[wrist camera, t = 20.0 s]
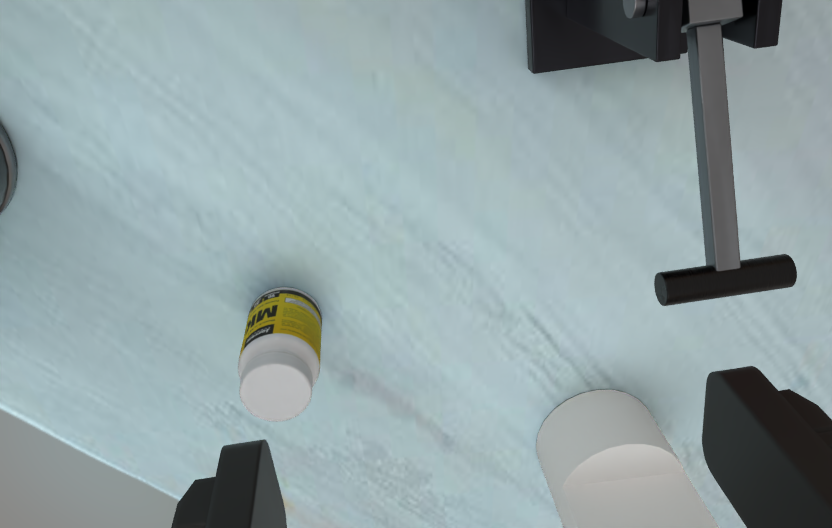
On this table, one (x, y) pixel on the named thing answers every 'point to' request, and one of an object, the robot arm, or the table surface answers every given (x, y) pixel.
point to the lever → (716, 174)
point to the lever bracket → (628, 31)
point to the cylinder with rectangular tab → (615, 467)
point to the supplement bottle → (280, 354)
